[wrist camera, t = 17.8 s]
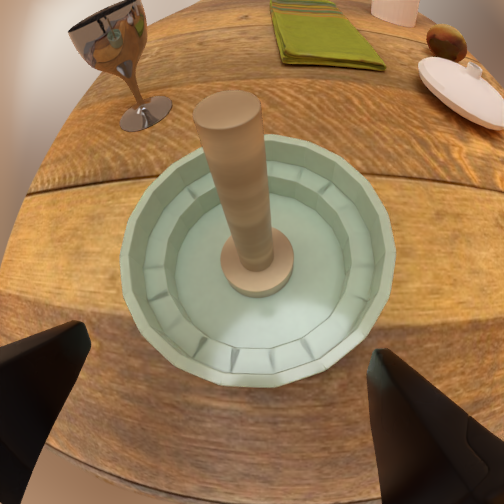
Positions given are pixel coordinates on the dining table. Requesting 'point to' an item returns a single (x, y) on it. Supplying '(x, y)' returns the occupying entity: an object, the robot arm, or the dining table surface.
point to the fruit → (446, 42)
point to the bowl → (267, 308)
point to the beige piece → (243, 192)
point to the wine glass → (120, 56)
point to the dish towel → (320, 36)
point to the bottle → (396, 11)
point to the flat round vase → (463, 91)
